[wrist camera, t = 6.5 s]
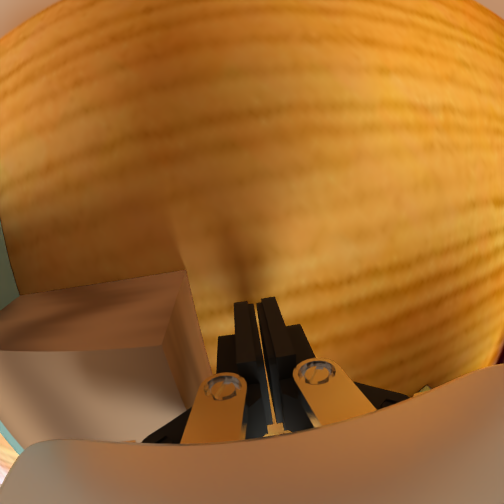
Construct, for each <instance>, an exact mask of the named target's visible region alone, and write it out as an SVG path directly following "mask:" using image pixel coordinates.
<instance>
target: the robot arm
mask: <svg viewBox="0 0 504 504" xmlns="http://www.w3.org/2000/svg"><path fill="white" fill-rule="evenodd" d="M256 304H257V311H258V318H259V325H260V332H261V340H262V347H263V354H264V360H265V366H266V371H267V376H268V382H269V387H270V392H271V397H272V402H273V407H274V412H275V417H276V422H277V423H282V422H283V427H284V431H285V430H289V431H292V432H291V433H286V434H280V435H274V436H268V437H263V436H264V435H265V434H268V429H267V425H271V424H273V421H272V414H271V407H270V400H269V393H268V386H267V380H266V373H265V366H264V360H263V354H262V349H261V343H260V338H259V332H258V327H257V322H256V316H255V311H254V305H253V304H248V302H247V301H243V302H236V303H234V320H235V334H234V335H226V336H219V337H218V350H217V371H216V374H215V375H212V376H210V377H208V378H206V379H205V380H204V381H203V382H202V383H201V385H200V386H199V389H198V392H197V395H196V398H195V401H194V404H193V406H192V407H191V408H189V409H188V410H186V411H185V412H183V413H182V414H181V415H179V416H178V417H176V418H175V419H173V420H172V421H170V422H169V423H167V424H166V425H164V426H162V427H161V428H159V429H158V430H156V431H155V432H153V433H151V434H150V435H148V436H147V437H146V438H145V439H143V441H142V442H141V443H137V442H136V440H131V441H122V442H117V441H103V440H92V439H75V438H67V439H53V440H46V441H42V442H38V443H35V444H32V445H30V446H29V447H27V448H26V449H25V450H24V451H23V452H22V453H21V454H20V455H19V457H18V458H17V459H16V461H15V462H14V464H13V465H12V467H11V468H10V470H9V472H8V474H7V475H6V477H5V479H4V481H3V483H2V485H1V487H0V504H504V364H499V365H493V366H488V367H485V368H481V369H478V370H475V371H473V372H470V373H468V374H465V375H462V376H460V377H458V378H456V379H454V380H452V381H449V382H447V383H445V384H442V385H440V386H438V387H435V388H433V389H431V390H429V391H425V392H420V393H415V394H414V395H413V397H412V398H410V397H408V396H406V395H404V394H401V393H397V392H392V391H388V390H384V389H380V388H376V387H372V386H368V385H364V384H361V383H357V382H353V381H352V380H351V379H350V378H349V377H348V375H347V374H346V373H345V372H344V371H343V370H342V368H341V367H340V366H339V365H338V364H337V363H336V362H334V361H332V360H330V359H326V358H316V357H315V355H314V353H313V351H312V349H311V346H310V344H309V342H308V340H307V338H306V336H305V333H304V331H303V329H302V327H301V325H300V324H297V325H291V326H285V323H284V320H283V318H282V315H281V312H280V310H279V307H278V304H277V301H276V299H275V297H269V298H263V299H261V303H256Z"/></svg>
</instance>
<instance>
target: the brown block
mask: <svg viewBox="0 0 504 504" xmlns="http://www.w3.org/2000/svg"><path fill="white" fill-rule="evenodd" d="M212 375H213V374H212V371H211V367H210V364H209V360H208V357H207V353H206V349H205V346H204V342H203V338H202V334H201V330H200V327H199V323H198V319H197V315H196V311H195V306H194V302H193V298H192V294H191V289H190V285H189V281H188V276H187V272H186V270H181V271H175V272H168V273H162V274H156V275H150V276H143V277H137V278H131V279H124V280H118V281H112V282H105V283H99V284H92V285H86V286H79V287H73V288H66V289H60V290H53V291H46V292H40V293H33V294H26V295H20V296H19V297H17V298H16V299H15V300H13V301H12V302H11V303H9V304H8V305H7V306H5V307H4V308H3V309H2V310H0V421H1V422H2V423H3V425H4V426H5V427H6V429H7V430H8V431H9V432H10V434H11V435H12V436H13V437H14V439H15V440H16V441H17V442H18V443H19V445H20V446H21V447H22V448H23V449H24V450H25V449H26V448H27V447H29V446H30V445H32V444H35V443H38V442H42V441H46V440H53V439H67V438H75V439H92V440H103V441H117V442H122V441H131V440H136V442H137V443H141V442H142V441H143V439H145V438H146V437H147V436H148V435H150V434H151V433H153V432H155V431H156V430H158V429H159V428H161V427H162V426H164V425H166V424H167V423H169V422H170V421H172V420H173V419H175V418H176V417H178V416H179V415H181V414H182V413H183V412H185V411H186V410H188V409H189V408H191V407H192V406H193V404H194V401H195V398H196V395H197V392H198V389H199V386H200V385H201V383H202V382H203V381H204V380H205V379H206V378H208V377H210V376H212Z"/></svg>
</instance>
